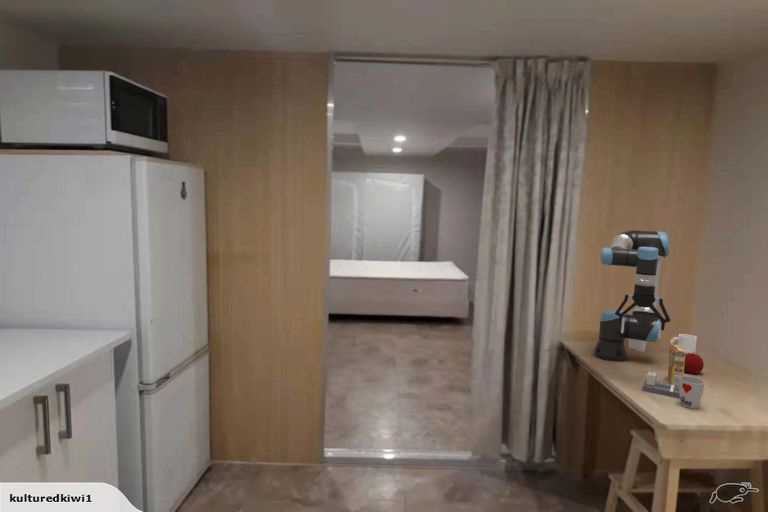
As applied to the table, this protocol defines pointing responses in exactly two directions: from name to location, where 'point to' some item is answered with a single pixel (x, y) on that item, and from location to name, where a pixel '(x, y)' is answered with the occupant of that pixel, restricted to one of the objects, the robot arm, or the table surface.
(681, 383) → the cup
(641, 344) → the toilet paper
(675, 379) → the candy box
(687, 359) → the apple
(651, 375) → the fader tab
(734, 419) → the table surface
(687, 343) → the mug
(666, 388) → the console
